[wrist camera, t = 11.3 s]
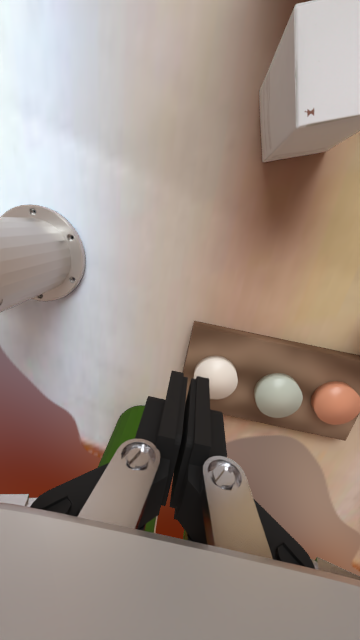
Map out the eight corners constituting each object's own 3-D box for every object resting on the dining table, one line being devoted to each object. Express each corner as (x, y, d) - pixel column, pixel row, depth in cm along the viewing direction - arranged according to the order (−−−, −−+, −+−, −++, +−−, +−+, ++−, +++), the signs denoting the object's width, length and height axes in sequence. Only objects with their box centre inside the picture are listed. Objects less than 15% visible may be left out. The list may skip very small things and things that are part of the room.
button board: (339, 431, 44) (345, 440, 42) (177, 396, 44) (176, 404, 42) (374, 358, 39) (383, 365, 38) (194, 320, 40) (193, 325, 38)
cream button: (204, 398, 41) (204, 404, 40) (187, 364, 40) (186, 370, 38) (242, 384, 40) (244, 391, 38) (226, 349, 38) (227, 354, 37)
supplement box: (327, 153, 32) (401, 111, 20) (260, 163, 33) (293, 130, 21) (329, 73, 29) (415, -27, 18) (257, 87, 30) (292, 1, 18)
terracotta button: (317, 422, 41) (322, 429, 39) (305, 389, 39) (309, 396, 38) (360, 409, 40) (366, 417, 38) (349, 375, 38) (355, 381, 37)
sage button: (262, 415, 40) (264, 423, 38) (247, 381, 38) (249, 388, 37) (304, 402, 39) (308, 409, 37) (290, 366, 37) (294, 373, 36)
